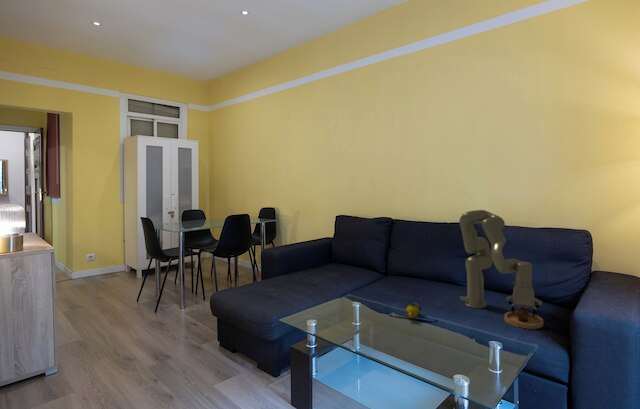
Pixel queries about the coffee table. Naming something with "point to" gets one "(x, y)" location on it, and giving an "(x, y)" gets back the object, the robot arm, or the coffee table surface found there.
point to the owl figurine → (412, 311)
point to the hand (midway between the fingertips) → (523, 314)
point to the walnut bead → (523, 314)
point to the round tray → (531, 324)
